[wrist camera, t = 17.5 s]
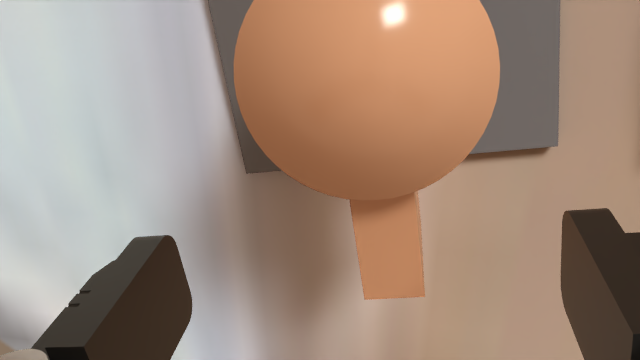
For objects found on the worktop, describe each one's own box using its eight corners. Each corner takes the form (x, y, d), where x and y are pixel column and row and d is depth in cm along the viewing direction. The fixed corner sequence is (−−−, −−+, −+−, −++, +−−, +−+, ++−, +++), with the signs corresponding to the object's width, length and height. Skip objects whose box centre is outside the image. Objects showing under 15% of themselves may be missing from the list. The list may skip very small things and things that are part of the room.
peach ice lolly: (288, -59, 19) (206, -37, 11) (455, -87, 18) (495, -85, 10) (328, 180, 23) (287, 326, 15) (469, 167, 22) (507, 317, 14)
